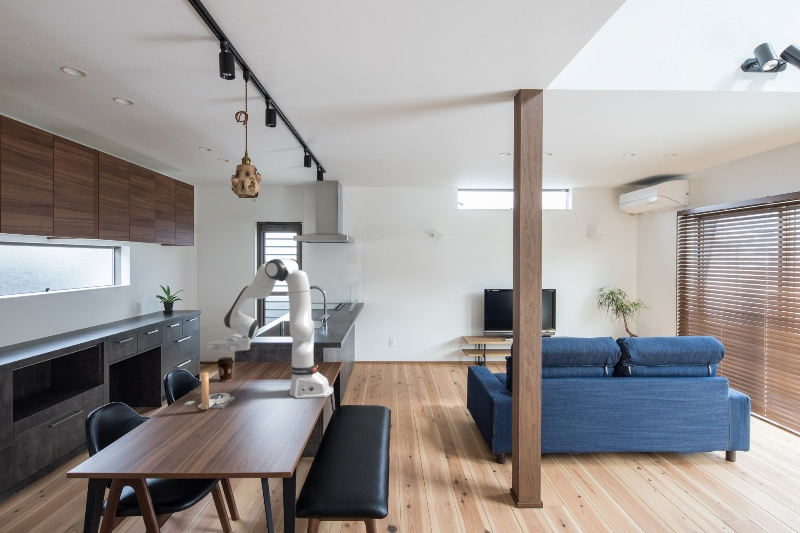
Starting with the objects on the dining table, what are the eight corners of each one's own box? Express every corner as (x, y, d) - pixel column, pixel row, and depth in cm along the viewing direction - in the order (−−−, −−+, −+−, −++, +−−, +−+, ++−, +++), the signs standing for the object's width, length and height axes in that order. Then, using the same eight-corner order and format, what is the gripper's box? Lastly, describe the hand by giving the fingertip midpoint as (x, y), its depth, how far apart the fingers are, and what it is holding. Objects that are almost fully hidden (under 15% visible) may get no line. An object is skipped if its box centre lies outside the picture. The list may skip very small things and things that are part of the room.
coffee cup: (219, 383, 218) (219, 360, 218) (215, 380, 225) (214, 358, 225) (235, 380, 224) (235, 358, 224) (230, 377, 230) (230, 355, 230)
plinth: (235, 399, 192) (234, 391, 192) (222, 408, 180) (222, 399, 180) (211, 399, 193) (211, 391, 193) (197, 408, 181) (197, 399, 181)
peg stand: (212, 396, 192) (211, 364, 192) (233, 396, 192) (233, 364, 192) (191, 409, 175) (191, 374, 175) (215, 409, 175) (214, 374, 175)
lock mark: (195, 401, 189) (195, 401, 189) (190, 404, 185) (190, 404, 185) (189, 401, 189) (189, 401, 189) (184, 404, 185) (184, 403, 185)
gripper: (214, 337, 205) (200, 342, 191) (252, 337, 204) (240, 342, 190) (214, 348, 205) (200, 355, 191) (252, 349, 204) (240, 355, 190)
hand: (220, 348), depth 190 cm, fingers open, 8 cm apart
